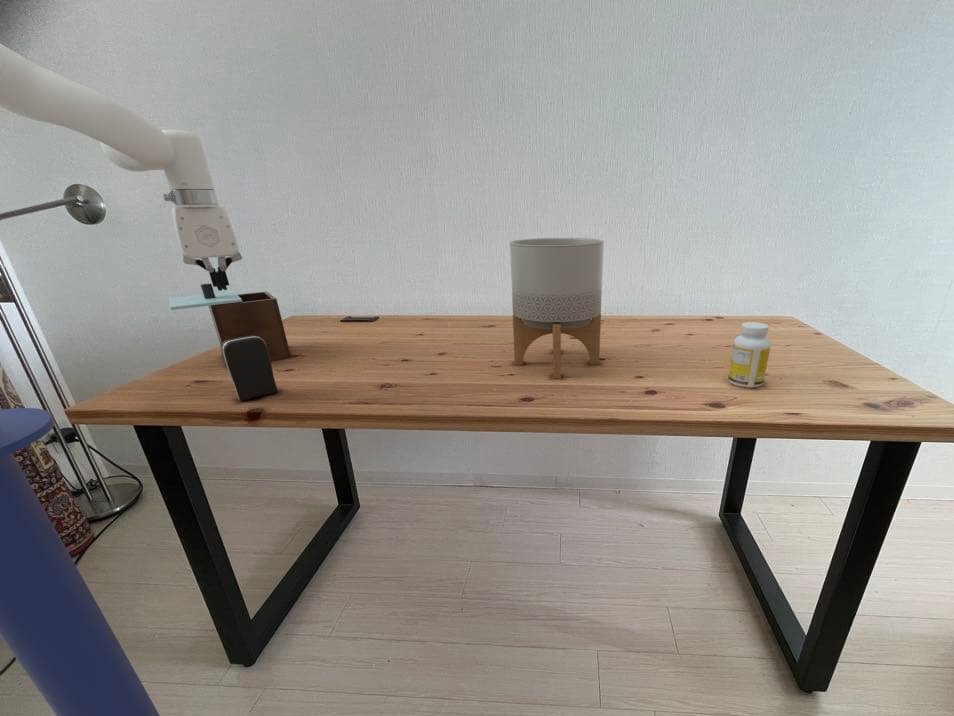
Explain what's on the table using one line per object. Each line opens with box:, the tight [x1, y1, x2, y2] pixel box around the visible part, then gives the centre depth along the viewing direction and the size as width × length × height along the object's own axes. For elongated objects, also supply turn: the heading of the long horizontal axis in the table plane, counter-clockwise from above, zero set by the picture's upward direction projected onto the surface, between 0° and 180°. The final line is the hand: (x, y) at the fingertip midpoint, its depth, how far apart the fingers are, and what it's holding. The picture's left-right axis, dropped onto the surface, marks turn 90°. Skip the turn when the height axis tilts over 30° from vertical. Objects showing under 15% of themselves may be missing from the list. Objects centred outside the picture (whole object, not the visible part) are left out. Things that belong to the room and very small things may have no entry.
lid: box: [168, 283, 242, 311], centre depth 100 cm, size 13×13×4 cm
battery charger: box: [220, 335, 279, 402], centre depth 85 cm, size 7×4×11 cm, turn 135°
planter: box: [509, 237, 605, 379], centre depth 97 cm, size 19×19×26 cm
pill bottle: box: [727, 321, 772, 389], centre depth 88 cm, size 6×6×12 cm
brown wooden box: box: [207, 290, 292, 362], centre depth 107 cm, size 13×13×14 cm
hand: (222, 289), depth 102 cm, fingers closed
